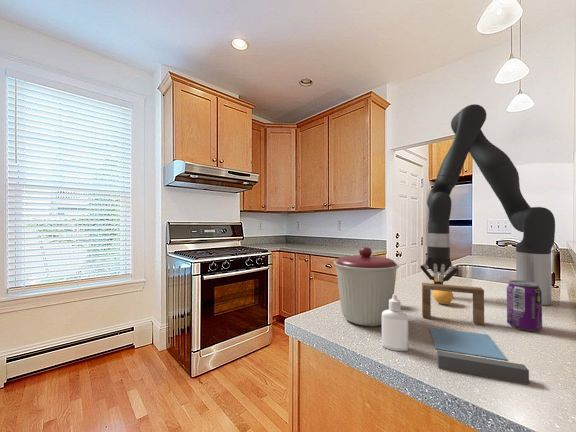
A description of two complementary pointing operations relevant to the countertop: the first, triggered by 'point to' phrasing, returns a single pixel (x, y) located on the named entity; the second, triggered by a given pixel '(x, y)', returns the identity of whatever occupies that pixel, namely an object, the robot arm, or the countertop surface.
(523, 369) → the stopper wall
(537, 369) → the countertop surface
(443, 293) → the ball
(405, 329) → the eye dropper bottle
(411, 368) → the countertop surface
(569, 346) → the countertop surface
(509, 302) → the beverage can
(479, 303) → the bridge
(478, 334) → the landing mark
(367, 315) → the canister
